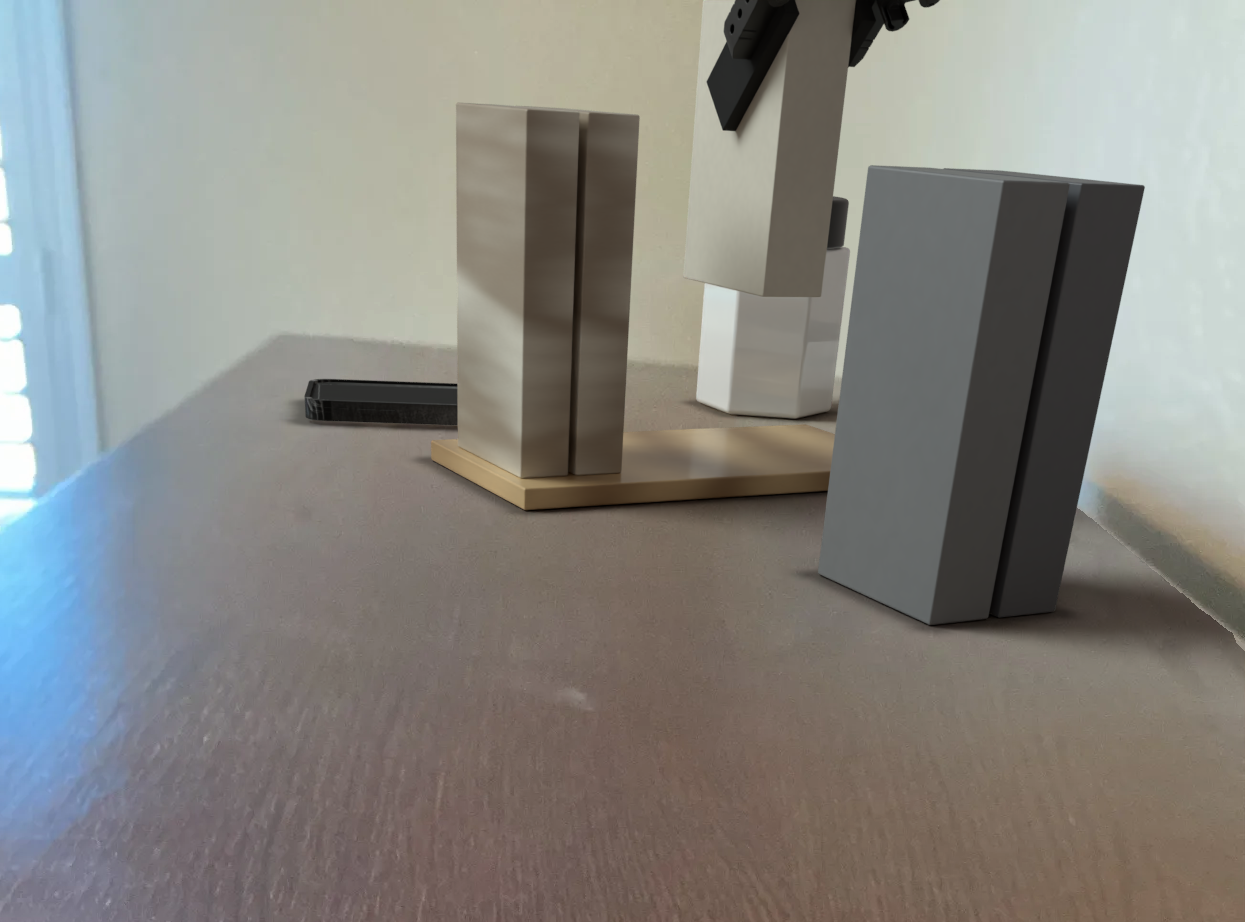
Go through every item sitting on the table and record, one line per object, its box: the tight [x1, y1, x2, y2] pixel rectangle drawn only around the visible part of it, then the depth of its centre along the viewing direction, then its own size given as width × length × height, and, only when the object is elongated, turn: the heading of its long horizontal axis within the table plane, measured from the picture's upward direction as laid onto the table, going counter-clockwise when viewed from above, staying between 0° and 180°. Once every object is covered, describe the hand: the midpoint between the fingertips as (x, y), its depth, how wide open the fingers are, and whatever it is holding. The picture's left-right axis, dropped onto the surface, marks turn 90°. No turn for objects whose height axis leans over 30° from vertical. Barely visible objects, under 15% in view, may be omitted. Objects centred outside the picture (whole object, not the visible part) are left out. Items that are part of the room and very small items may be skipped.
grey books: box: [817, 164, 1146, 626], centre depth 60 cm, size 6×8×15 cm
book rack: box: [430, 102, 835, 511], centre depth 78 cm, size 24×12×16 cm, turn 117°
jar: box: [695, 195, 851, 420], centre depth 98 cm, size 9×8×12 cm
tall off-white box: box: [682, 0, 856, 297], centre depth 74 cm, size 4×8×15 cm, turn 27°
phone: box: [303, 378, 458, 427], centre depth 92 cm, size 8×1×15 cm
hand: (758, 108), depth 75 cm, fingers closed on tall off-white box, 3 cm apart
